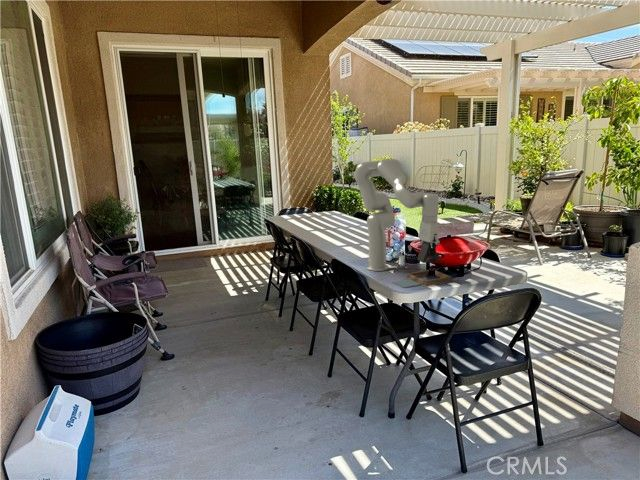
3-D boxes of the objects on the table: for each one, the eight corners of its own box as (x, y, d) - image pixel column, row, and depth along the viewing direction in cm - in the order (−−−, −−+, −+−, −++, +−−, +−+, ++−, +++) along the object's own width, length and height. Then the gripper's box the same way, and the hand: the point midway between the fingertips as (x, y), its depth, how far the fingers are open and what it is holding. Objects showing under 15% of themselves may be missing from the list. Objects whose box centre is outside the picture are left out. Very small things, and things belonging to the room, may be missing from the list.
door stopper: (422, 262, 221) (423, 239, 218) (417, 259, 226) (417, 236, 224) (438, 261, 223) (440, 238, 220) (432, 258, 229) (433, 235, 226)
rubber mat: (392, 282, 223) (392, 281, 223) (409, 279, 227) (409, 278, 227) (404, 288, 214) (404, 287, 214) (421, 285, 218) (421, 284, 218)
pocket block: (406, 278, 230) (406, 273, 230) (431, 273, 236) (431, 269, 236) (425, 286, 216) (425, 281, 215) (451, 281, 222) (451, 276, 222)
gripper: (413, 216, 226) (411, 250, 230) (434, 222, 211) (432, 258, 215) (425, 215, 229) (423, 249, 233) (447, 221, 214) (445, 257, 218)
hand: (428, 253), depth 224 cm, fingers closed on door stopper, 6 cm apart
